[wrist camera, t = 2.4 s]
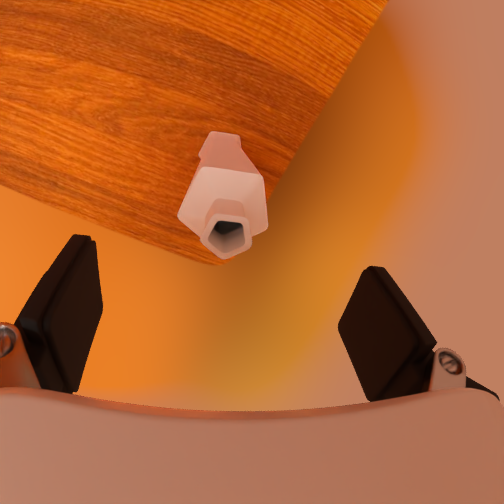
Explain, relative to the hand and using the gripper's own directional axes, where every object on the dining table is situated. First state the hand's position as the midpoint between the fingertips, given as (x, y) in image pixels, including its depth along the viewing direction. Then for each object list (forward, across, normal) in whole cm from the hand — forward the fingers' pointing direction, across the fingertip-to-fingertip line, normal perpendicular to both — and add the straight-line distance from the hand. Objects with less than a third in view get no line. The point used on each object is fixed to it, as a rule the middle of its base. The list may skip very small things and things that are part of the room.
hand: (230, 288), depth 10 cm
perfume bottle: (+18, 0, 0) cm, 18 cm away
